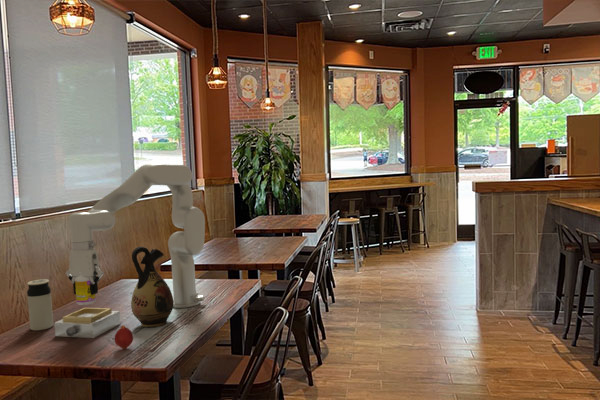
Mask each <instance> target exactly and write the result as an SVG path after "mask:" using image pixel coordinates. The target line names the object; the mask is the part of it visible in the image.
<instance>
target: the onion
mask: <svg viewBox="0 0 600 400" xmlns="http://www.w3.org/2000/svg"><path fill="white" fill-rule="evenodd" d="M133 341H134V334H133V332H132V331H131V329H129V327H126V326H125V325H124V324H123V325H121V326H120V328H119V329H118V330H117V331H116V332H115V334H114V343H115V345H116V346H118V347H119V348H121V349H122V350H126V349H127V348H128V347H129V346H131V345H132V343H133Z"/></svg>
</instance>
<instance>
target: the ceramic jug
mask: <svg viewBox="0 0 600 400" xmlns="http://www.w3.org/2000/svg"><path fill="white" fill-rule="evenodd" d="M140 253H144V256H143V257H142V259H141V261H140V262H139V260H138V255H139V254H140ZM164 255H165V254H164V253H163V252H162V251H161V250H159V249H157V248H155V249H153V248H152V249H151V250H149V249H148V248H147V247H145V246H138V247H136V248H135V249H133V251H132V252H131V261H132V263H133V265H134V268H135V271H136V272H137V274H138V275H137V276H138V279H137V283H136V285H135V287H134V289H133V293H132V295H131V303H130V307H131V312H132V315H133V316H134V317H135V318H136V319H137V321H139V322H140V324H141V327H142V328H143V327H144V328H145V327H146V328H147V327H150V328H152V327H153V328H154V327H155V328H156V327H160V326H161V327H162V326H165V325H167V324H168V319H169V317H170V316H171V314H172V312H173V309H174V307H173V305H174V295H173V293H172V290H171V289H170V287H169V285H168V283H167V282H166V281H165V279H164V278H163V277H162V276H161V275H160V273H159V272H158V271H157V269H156V268H155V265H154V263H156V261H157V260H159V259H161V258H162V257H164ZM140 264H141V265H144V269H142V268H141V265H140Z"/></svg>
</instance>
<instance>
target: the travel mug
mask: <svg viewBox="0 0 600 400" xmlns="http://www.w3.org/2000/svg"><path fill="white" fill-rule="evenodd" d="M49 282H50V280H49V279H48V278H47V279H45V278H42V279H35V280H31V281H28V282H27V286H28V289H27V291H26V294H27V296H26V297H27V305H28V307H27V308H28V320H29V329H30V330H32V331H34V332H35V331H38V332H39V331H44V330H47V329H50V328H52V327H53V326H54V315H53V303H52V291H51V287H50V285H49Z"/></svg>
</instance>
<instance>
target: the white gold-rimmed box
mask: <svg viewBox="0 0 600 400" xmlns="http://www.w3.org/2000/svg"><path fill="white" fill-rule="evenodd" d="M120 313H121V312H120V310H112V308H105V307H104V308H103V307H83V308H80V309H78V310H76V311H74V312H71V313H69V314H66V315H64V316H62V319H59V320H57V321H55V322H53V325H54V333H55V334H54V335H55V337H62V338H63V337H65V338H66V337H68V338H82V339H83V338H84V339H86V338H87V339H94V338H96V337H99V336H100V335H102V334H103V333H106V332H107V331H109V330H111V329H113V328H116V327H117V326H119V325H121V315H120Z"/></svg>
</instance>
